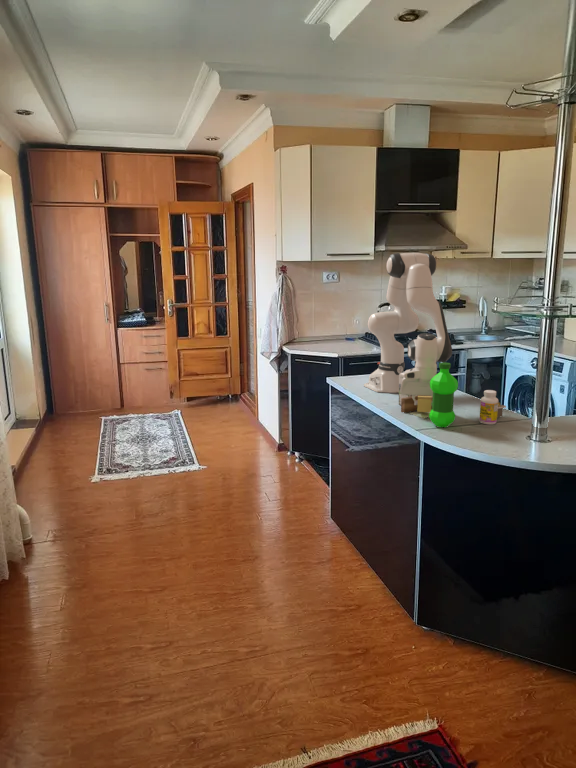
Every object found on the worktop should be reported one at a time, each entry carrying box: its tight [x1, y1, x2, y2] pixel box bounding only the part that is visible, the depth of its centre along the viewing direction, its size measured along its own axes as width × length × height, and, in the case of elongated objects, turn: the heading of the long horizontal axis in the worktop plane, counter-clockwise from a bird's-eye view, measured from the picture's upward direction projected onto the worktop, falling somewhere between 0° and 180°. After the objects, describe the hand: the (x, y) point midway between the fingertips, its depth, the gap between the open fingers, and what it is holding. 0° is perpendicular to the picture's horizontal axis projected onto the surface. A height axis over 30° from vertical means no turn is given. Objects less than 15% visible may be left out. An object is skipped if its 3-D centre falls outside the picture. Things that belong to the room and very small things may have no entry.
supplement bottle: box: [478, 389, 499, 425], centre depth 223 cm, size 7×7×13 cm
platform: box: [497, 402, 507, 418], centre depth 231 cm, size 12×18×7 cm, turn 110°
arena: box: [400, 395, 433, 414], centre depth 237 cm, size 16×14×6 cm
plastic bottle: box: [428, 362, 459, 428], centre depth 218 cm, size 10×10×25 cm
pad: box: [409, 411, 430, 419], centre depth 236 cm, size 8×8×1 cm
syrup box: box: [398, 371, 416, 406], centre depth 250 cm, size 6×6×14 cm
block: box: [416, 396, 431, 412], centre depth 235 cm, size 6×6×6 cm
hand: (424, 405), depth 235 cm, fingers closed on block, 5 cm apart
